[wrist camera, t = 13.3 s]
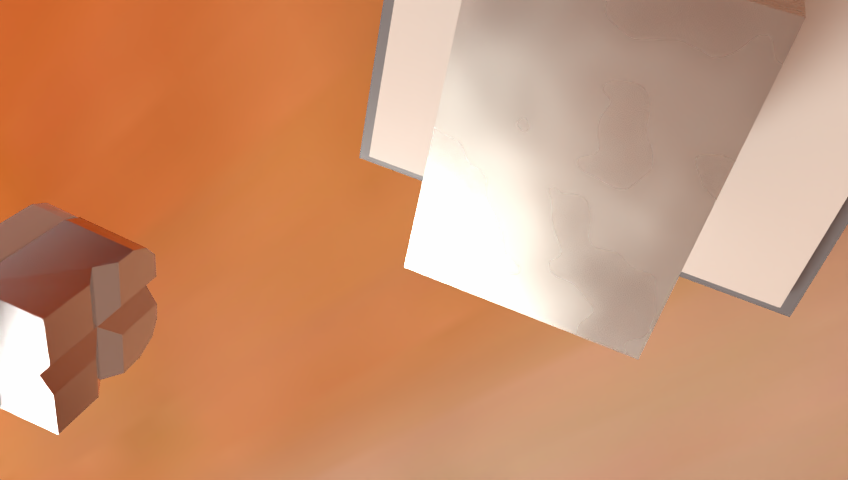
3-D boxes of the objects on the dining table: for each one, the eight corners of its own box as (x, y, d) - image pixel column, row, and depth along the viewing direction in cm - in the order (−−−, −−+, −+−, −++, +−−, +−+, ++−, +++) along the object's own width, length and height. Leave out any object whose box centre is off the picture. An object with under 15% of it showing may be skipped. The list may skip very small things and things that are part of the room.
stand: (789, 254, 26) (789, 327, 23) (400, 116, 29) (352, 164, 26) (1073, -232, 18) (1135, -222, 15) (488, -364, 20) (434, -379, 17)
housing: (799, -88, 18) (805, 17, 11) (681, 175, 22) (638, 359, 15) (583, -148, 18) (479, -80, 12) (510, 116, 23) (404, 267, 16)
